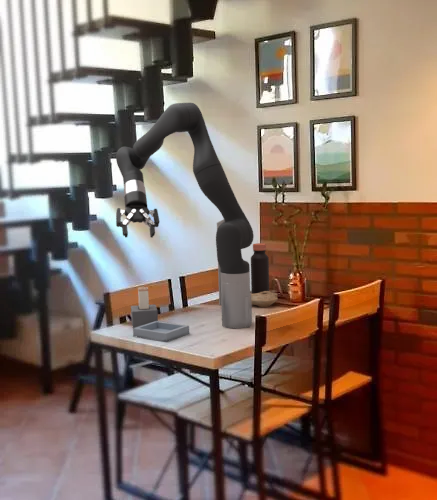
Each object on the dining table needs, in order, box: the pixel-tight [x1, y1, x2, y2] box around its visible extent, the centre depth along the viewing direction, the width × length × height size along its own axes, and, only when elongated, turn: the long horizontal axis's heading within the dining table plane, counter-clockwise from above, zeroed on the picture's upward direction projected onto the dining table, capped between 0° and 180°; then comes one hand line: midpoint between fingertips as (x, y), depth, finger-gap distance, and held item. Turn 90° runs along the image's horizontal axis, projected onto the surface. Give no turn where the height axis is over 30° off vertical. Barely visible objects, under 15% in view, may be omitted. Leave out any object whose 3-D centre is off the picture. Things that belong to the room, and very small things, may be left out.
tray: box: [132, 320, 190, 343], centre depth 211 cm, size 13×11×2 cm
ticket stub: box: [137, 286, 150, 310], centre depth 224 cm, size 3×4×9 cm
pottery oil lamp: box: [250, 290, 279, 308], centre depth 247 cm, size 9×12×7 cm
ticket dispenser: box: [130, 304, 159, 329], centre depth 224 cm, size 8×9×6 cm
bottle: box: [250, 242, 270, 294], centre depth 263 cm, size 7×7×20 cm
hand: (139, 236), depth 229 cm, fingers open, 8 cm apart
